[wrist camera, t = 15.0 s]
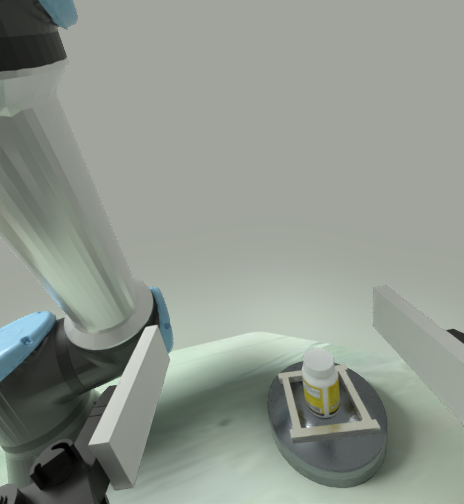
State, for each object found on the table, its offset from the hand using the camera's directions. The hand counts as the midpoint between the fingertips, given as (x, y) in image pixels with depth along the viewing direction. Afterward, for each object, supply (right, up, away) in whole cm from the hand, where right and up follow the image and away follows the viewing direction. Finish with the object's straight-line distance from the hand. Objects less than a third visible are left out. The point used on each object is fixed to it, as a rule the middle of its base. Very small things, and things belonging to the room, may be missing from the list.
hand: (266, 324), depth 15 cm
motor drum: (+12, -21, +22) cm, 33 cm away
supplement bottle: (+11, -18, +21) cm, 29 cm away
